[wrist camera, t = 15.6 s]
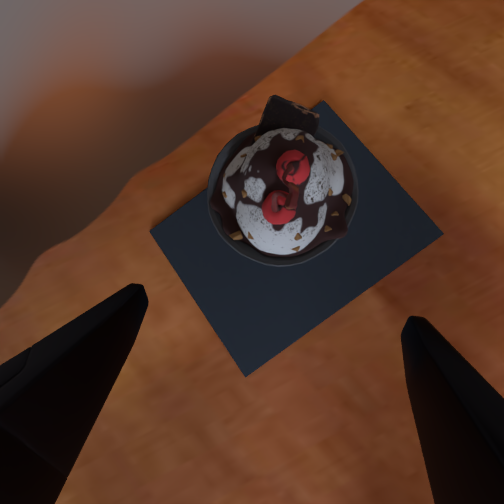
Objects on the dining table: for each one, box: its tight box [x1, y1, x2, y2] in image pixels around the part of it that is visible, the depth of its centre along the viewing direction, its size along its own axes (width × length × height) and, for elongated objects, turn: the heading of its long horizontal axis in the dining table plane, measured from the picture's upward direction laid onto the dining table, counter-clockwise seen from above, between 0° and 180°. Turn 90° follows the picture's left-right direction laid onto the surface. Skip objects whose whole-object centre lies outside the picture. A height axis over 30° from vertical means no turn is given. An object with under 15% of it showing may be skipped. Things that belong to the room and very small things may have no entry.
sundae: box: [207, 95, 359, 267], centre depth 15 cm, size 7×7×15 cm
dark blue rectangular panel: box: [150, 100, 444, 377], centre depth 23 cm, size 14×18×1 cm
